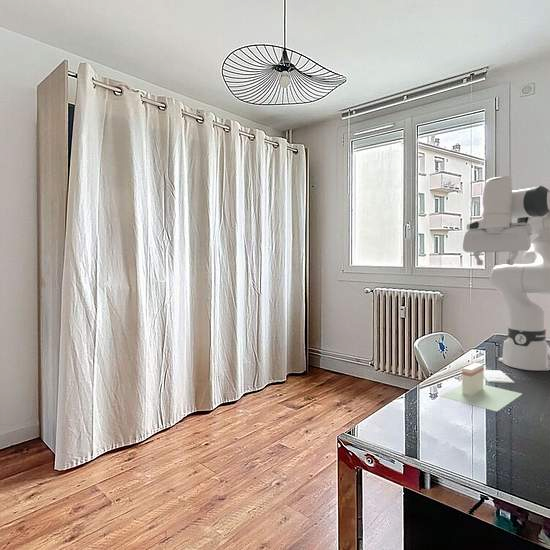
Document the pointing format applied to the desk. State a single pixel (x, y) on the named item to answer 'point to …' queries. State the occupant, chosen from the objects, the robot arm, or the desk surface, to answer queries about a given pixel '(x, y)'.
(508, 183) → the robot arm
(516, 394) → the mat
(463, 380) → the card box
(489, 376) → the external hard drive
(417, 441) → the desk surface
